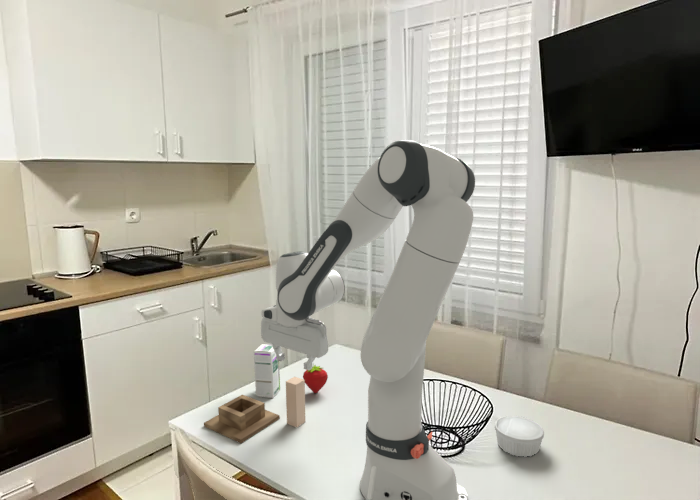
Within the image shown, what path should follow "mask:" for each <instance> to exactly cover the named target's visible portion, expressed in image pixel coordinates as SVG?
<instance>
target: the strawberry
mask: <svg viewBox="0 0 700 500" xmlns="http://www.w3.org/2000/svg"><path fill="white" fill-rule="evenodd" d="M328 378H329V375H328V372H327V371H326V370H324V368H323V367H321V365H316V364H315V363H314V362H312V369H311V370H306V369H305V371H304V372H303V376H302V379H304V380H305V386H306V387H308V388H309V390H311V392H312V393H314V394H317V393H319V392H320V390H321V389H323V387H324V386H325V384H326V383H327V381H328Z"/></svg>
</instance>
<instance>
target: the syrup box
mask: <svg viewBox="0 0 700 500" xmlns="http://www.w3.org/2000/svg"><path fill="white" fill-rule="evenodd" d="M253 367H254V368H253V369H254V382H255V387H254V388H255V396H256V397H258V398H269V399H275V397H276V396H277V394H278V393H279V391H280V390H281V381H280V380H281V377H280V361H278V360H276V353H275V351H274V349H273V344H271V343H265V344H260V345H259V346H258V347H257V348H256V349H254V351H253Z"/></svg>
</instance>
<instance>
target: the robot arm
mask: <svg viewBox="0 0 700 500" xmlns="http://www.w3.org/2000/svg"><path fill="white" fill-rule="evenodd" d="M475 187H476V178H475V174H474V172H473V170H472V168H471V167H470V166H469V164H467V163H466V162H464V161H463V160H462V159H461V158H458V157H455V156H453V155H450V154H448V153H446V152H445V151H443V150H441V149H440V148H436V147H434V146H430V145H427V144H422V143H419V142H418V141H415V140H411V139H409V140H408V139H407V140H406V139H405V140H403V139H402V140H397V141H394V142H391V143H389V144H388V145H387V146H386V147H385V148H384V150H383V151H382V153H381V154H380V157H378V158H377V159H376V160H375V161H374V162H373V163H372V164H371V165H370V167H368V169H367V170H366V172H365V173H364V174H363V175H362V177H361V178H360V180H359V181H358V183H357V184H356V186H355V187H354V189H353V191H352V192H351V194H350V196H349V197H348V199H347V201H346V202H345V203H344V205H343V206H342V208H341V210H339V212H338V214H337V215H336V216H335V218H334V219H333V220H332V221H331V223H330V224H329V225H328V226H327V228H326V229H325V230H324V232H323V233H322V235H320V237H319V238H318V239H317V241H316V242H315V243H314V245H313V247H312V248H311V249H310V251H309V252H306V251H294V252H288V253H285V254H282V255H280V256H279V257H278V259H277V262H276V267H275V268H276V269H275V270H276V271H275V289H276V291H277V296H276V301H275V304H274V305H272V306H268V307H266V308H264V309H261V312H260V313H261V317H262V319H261V322H260V334H261V335H260V336H261V339H262V341H263V342H265V343H266V344H271V345H273V349H274V351H275V353H276V360H278V361H279V362H283V361H285V359H286V354H285V353H284V352H283V349H282V348H284V349H288V350H291V351H294V352H298V353H301V354H304V355H306V359H307V361H305V362H304V363H303V370H305V371H306V370H311V369H312V367H313V363H314V361H315V359H316V358H317V359H319V358H322V357H324V356H325V355H327V354H328V352H329V339H328V333H327V329H328V328H327V326H326V325H325V324H324V322H323V321H322V320H319V319H315V318H312V316H313V315H314V314H316V313H319V312H320V311H323V310H325V309H327V308H330V307H332V306H334V305H336V304H337V303H339V302H340V301H341V300H343V297H344V295H345V289H346V288H345V282H344V279H343V277H342V275H341V274H340V273H339V272H338V271H337V270H336V269H335V267H336V266H337V264H338V263H339V262H340V261H341V260H342V259H343V258H344V257H346V256H347V255H349V254H350V253H351V252H354V251H355V250H357V249H359V248H361V247H364V246H366V245H368V244H370V243H372V242H374V241H376V240H378V239H379V238H380V237H382V236H383V234H384V233H385V232H386V231H387V230H389V228H390V227H391V226H392V224H393V222H395V219H396V218H397V216H398V215H399V214H400V211H401V210H402V208H403V207H409V206H412V207H411V208H412V209H413V222H412V224H411V227H410V229H409V230H408V233H407V236H406V239H405V241H404V243H403V245H402V248H401V250H400V253H399V255H398V258H397V260H396V263H395V266H394V268H393V270H392V273H391V275H390V277H389V280H388V282H387V284H386V286H385V288H384V290H383V292H382V295H381V296H380V299H379V301H378V303H377V306H376V308H375V310H374V312H373V314H372V317H371V318H370V321H369V323H368V326H367V328H366V331H365V332H364V334H363V338H362V341H361V346H360V361H361V365H362V368H364V370H365V371H366V373H367V374H368V375H369V376H370V377H369V383H368V389H367V391H368V393H367V395H368V396H367V421H366V425H365V443H366V446H367V447H366V457H365V464H364V469H363V471H362V472H363V473H362V477H361V479H360V482H359V489H360V493H361V494H362V496H363V497H364V499H365V500H469V498H468V497H469V496H468V492H467V489H466V488H465V487H463V486H462V485H460V484H458V483H457V476H456V473H455V470H454V468H453V467H452V465H451V464H450V463H448V462H447V460H446V459H444V458H443V457H442V456H441V455H440V454H439V453H438V452H437V451H436V450H435V449H434V447H432V446H431V445H430V441H431V440H432V438H433V431H430V432H429V434H428V435H427V434H426V432H425V429H424V426H423V424H422V413H423V412H422V411H423V409H422V408H423V407H422V406H423V386H424V376H425V375H424V374H425V361H426V351H427V349H426V346H427V339H428V336H429V335H430V332H431V330H432V329H433V325H434V323H435V320H436V318H437V315H438V313H439V310H441V309H440V308H441V306H442V304H443V301H444V299H445V296H446V294H447V293H448V290H449V287H450V285H451V283H452V280H453V278H454V276H455V274H456V272H457V270H458V267H459V265H460V263H461V260H462V258H463V255H464V253H465V251H466V249H467V248H466V247H467V245H468V241H469V239H470V238H469V237H470V234H471V230H472V228H473V227H472V226H473V221H474V212H473V211H474V210H473V209H472V207H471V206H470V205H469V203H467V202H468V201H469V200H470V198H471V197H472V196H473V193H474V190H475Z"/></svg>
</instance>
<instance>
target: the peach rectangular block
mask: <svg viewBox="0 0 700 500" xmlns="http://www.w3.org/2000/svg"><path fill="white" fill-rule="evenodd" d="M305 387H306V384H305V380H304V379H303V378H300V377H297V376H293V377H291V378H290V379H287V380H286V381H285V400H286V401H285V402H286V403H285V404H286V405H285V406H286V408H285V409H286V424H287V425H289V426H292V427H294V428H299V427H300V426H301V425H304V423H306V388H305Z"/></svg>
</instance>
